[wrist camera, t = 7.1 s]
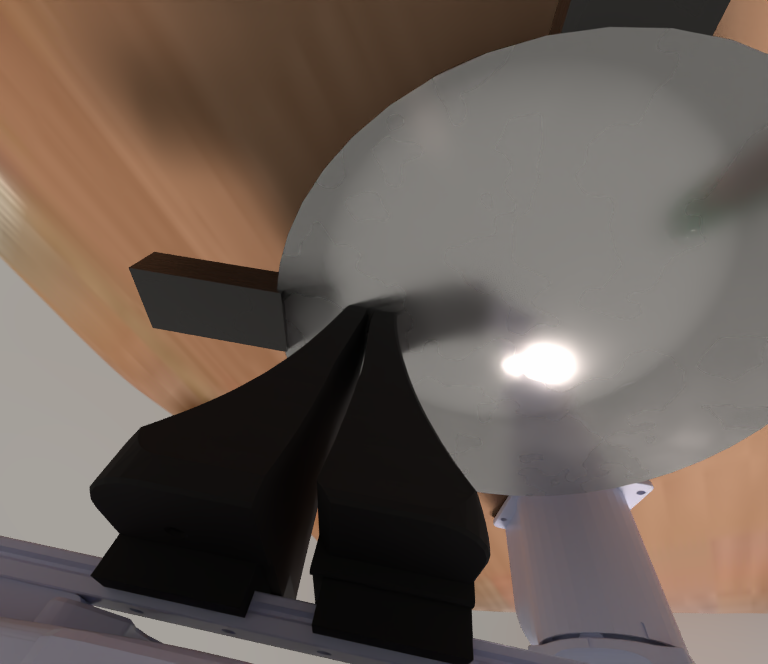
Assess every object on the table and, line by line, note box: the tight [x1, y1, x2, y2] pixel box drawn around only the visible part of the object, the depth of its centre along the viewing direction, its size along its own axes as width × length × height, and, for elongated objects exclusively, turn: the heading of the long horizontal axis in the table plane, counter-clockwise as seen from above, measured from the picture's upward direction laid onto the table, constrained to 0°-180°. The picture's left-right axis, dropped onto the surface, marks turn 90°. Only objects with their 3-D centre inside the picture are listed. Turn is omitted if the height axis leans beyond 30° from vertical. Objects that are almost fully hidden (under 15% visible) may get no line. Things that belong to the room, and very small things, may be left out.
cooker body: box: [411, 0, 730, 92], centre depth 13 cm, size 19×16×5 cm
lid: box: [129, 27, 768, 496], centre depth 11 cm, size 16×21×1 cm
